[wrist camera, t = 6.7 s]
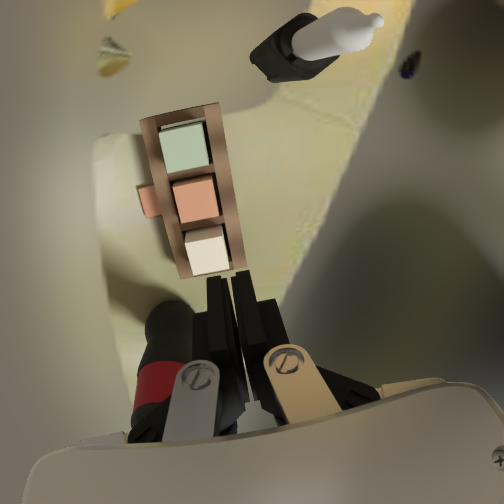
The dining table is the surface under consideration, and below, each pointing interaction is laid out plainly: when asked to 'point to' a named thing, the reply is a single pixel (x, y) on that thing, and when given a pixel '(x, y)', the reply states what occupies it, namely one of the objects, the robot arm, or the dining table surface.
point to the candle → (313, 43)
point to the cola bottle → (162, 356)
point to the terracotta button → (196, 197)
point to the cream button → (206, 249)
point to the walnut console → (165, 183)
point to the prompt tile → (150, 201)
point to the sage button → (184, 147)
